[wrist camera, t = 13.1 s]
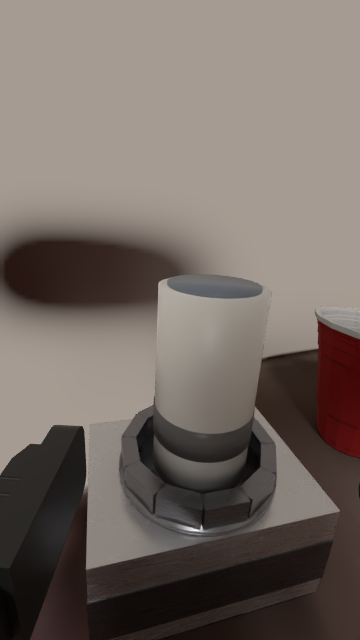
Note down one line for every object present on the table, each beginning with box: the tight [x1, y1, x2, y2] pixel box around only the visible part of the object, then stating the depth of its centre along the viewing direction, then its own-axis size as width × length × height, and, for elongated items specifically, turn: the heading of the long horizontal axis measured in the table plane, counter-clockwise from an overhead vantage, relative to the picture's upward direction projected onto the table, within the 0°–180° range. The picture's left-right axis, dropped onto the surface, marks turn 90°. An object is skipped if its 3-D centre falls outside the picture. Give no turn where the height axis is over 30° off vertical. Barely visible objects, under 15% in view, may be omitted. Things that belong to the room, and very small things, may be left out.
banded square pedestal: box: [86, 405, 340, 640], centre depth 18 cm, size 12×9×8 cm
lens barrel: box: [153, 274, 272, 494], centre depth 16 cm, size 5×5×10 cm
